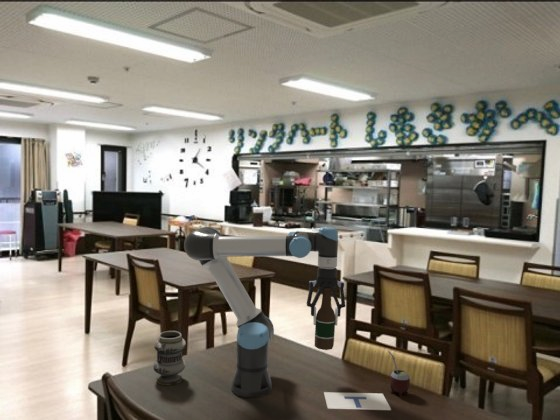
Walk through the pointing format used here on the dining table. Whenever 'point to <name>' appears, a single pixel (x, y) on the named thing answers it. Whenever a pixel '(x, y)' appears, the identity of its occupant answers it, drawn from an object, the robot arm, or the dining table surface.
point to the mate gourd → (399, 381)
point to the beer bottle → (325, 323)
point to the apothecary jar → (169, 357)
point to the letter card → (356, 401)
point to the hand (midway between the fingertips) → (325, 324)
